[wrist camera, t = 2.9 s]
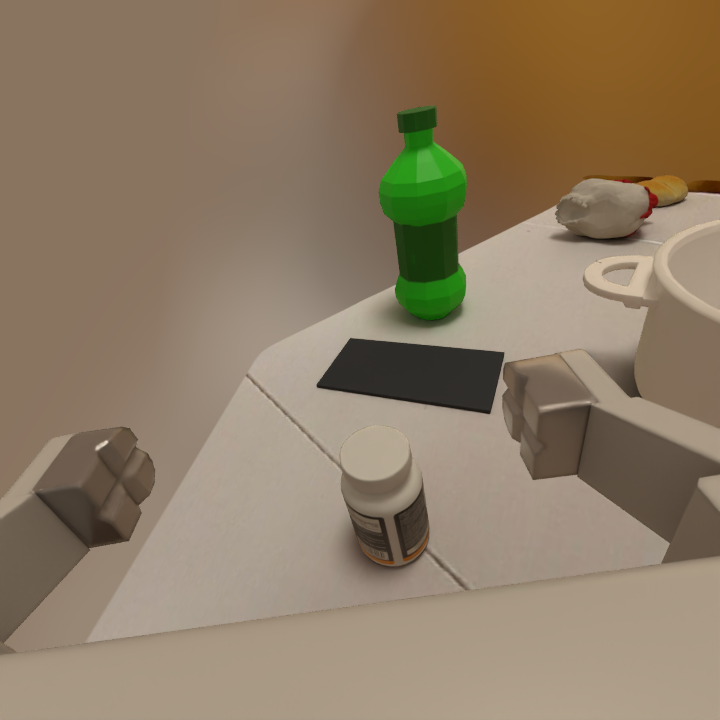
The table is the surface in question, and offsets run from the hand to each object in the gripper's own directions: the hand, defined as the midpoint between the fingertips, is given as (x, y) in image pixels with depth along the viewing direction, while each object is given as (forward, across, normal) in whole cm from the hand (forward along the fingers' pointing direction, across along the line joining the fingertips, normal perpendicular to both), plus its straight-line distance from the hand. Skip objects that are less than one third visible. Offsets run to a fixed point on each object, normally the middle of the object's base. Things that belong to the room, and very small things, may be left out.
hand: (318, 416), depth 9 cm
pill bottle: (+12, 0, +24) cm, 27 cm away
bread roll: (+71, -57, +23) cm, 94 cm away
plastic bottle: (+45, -10, +23) cm, 52 cm away
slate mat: (+32, -4, +24) cm, 40 cm away
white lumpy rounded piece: (+60, -43, +23) cm, 77 cm away
